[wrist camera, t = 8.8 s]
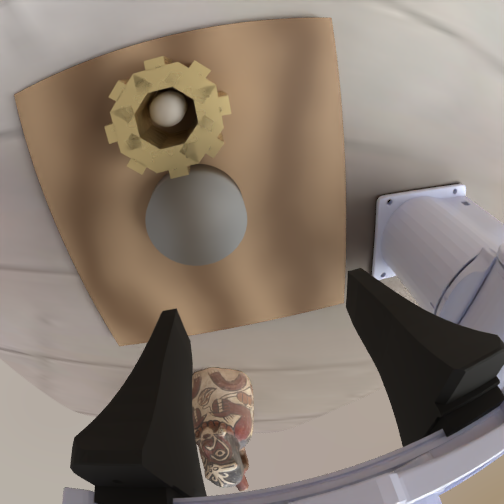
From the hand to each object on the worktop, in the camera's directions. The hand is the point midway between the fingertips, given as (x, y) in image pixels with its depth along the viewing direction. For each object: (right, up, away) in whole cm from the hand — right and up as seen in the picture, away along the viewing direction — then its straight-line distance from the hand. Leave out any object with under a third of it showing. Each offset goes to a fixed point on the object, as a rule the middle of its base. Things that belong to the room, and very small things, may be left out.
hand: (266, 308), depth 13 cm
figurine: (-4, -12, +20) cm, 23 cm away
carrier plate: (-4, +6, +8) cm, 11 cm away
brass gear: (-5, +10, +4) cm, 12 cm away
